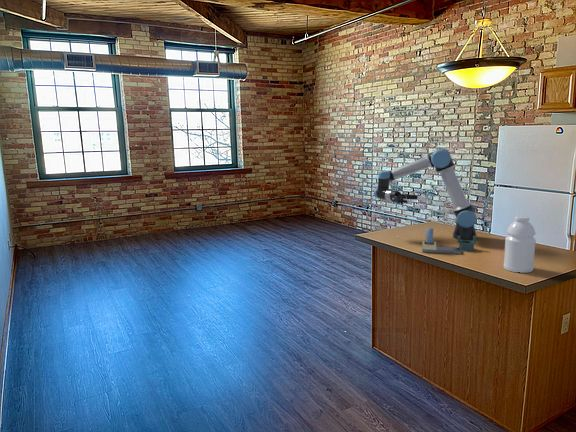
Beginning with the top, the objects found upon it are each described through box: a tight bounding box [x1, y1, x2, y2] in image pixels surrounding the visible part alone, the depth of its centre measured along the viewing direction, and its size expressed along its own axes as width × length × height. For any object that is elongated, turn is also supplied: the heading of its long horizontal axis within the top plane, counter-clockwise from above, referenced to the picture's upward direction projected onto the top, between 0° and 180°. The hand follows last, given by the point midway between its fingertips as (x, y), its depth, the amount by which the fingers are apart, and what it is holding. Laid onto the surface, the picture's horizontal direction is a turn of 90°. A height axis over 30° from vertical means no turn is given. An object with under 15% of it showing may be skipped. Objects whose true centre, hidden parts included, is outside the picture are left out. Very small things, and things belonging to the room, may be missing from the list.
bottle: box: [503, 215, 537, 274], centre depth 219 cm, size 14×14×28 cm
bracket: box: [456, 236, 477, 252], centre depth 260 cm, size 9×9×9 cm
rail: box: [421, 240, 462, 255], centre depth 257 cm, size 22×8×5 cm, turn 73°
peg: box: [425, 227, 434, 244], centre depth 258 cm, size 4×4×12 cm
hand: (419, 200), depth 266 cm, fingers open, 13 cm apart
